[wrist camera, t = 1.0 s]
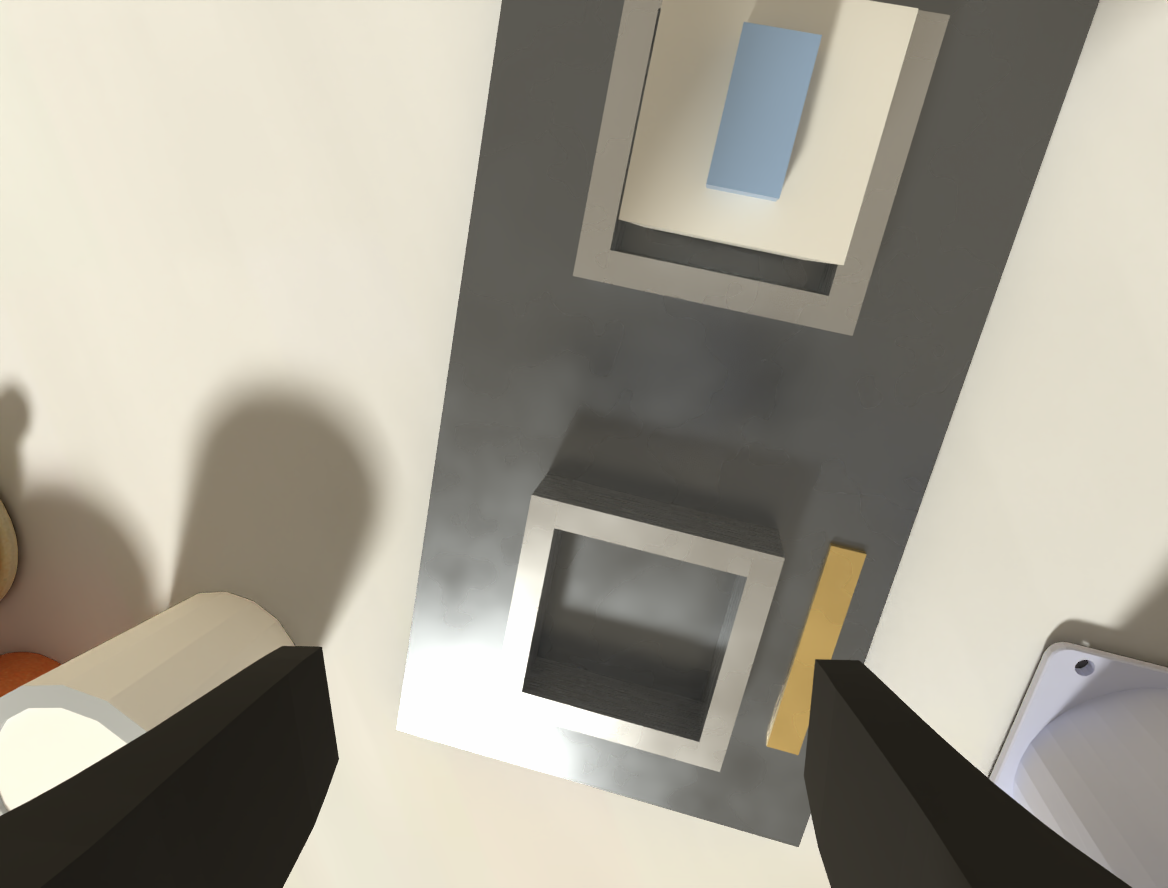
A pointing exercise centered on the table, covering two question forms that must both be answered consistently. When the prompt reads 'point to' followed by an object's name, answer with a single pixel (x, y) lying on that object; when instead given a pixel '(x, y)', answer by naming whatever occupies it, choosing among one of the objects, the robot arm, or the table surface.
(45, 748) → the white cylinder
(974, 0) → the panel
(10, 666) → the toy tea set
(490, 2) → the table surface
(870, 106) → the plug
